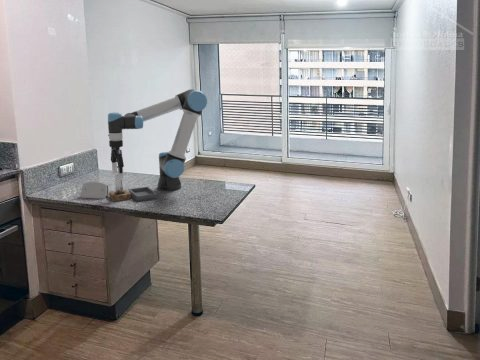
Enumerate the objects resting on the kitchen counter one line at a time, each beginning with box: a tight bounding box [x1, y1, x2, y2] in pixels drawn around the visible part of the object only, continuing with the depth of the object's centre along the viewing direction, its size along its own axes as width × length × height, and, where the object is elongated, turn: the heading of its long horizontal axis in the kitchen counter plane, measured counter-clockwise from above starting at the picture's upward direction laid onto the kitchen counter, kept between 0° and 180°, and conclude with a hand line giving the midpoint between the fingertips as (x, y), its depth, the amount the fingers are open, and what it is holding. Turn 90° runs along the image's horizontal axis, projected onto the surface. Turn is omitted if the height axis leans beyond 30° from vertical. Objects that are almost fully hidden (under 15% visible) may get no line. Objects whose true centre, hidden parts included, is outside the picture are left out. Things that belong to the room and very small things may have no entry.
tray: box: [128, 186, 158, 202], centre depth 275 cm, size 12×18×3 cm, turn 29°
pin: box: [114, 173, 124, 195], centre depth 270 cm, size 4×4×14 cm
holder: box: [108, 189, 132, 202], centre depth 272 cm, size 10×10×3 cm
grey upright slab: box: [79, 181, 110, 199], centre depth 275 cm, size 17×5×10 cm, turn 82°
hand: (117, 175), depth 268 cm, fingers open, 13 cm apart
